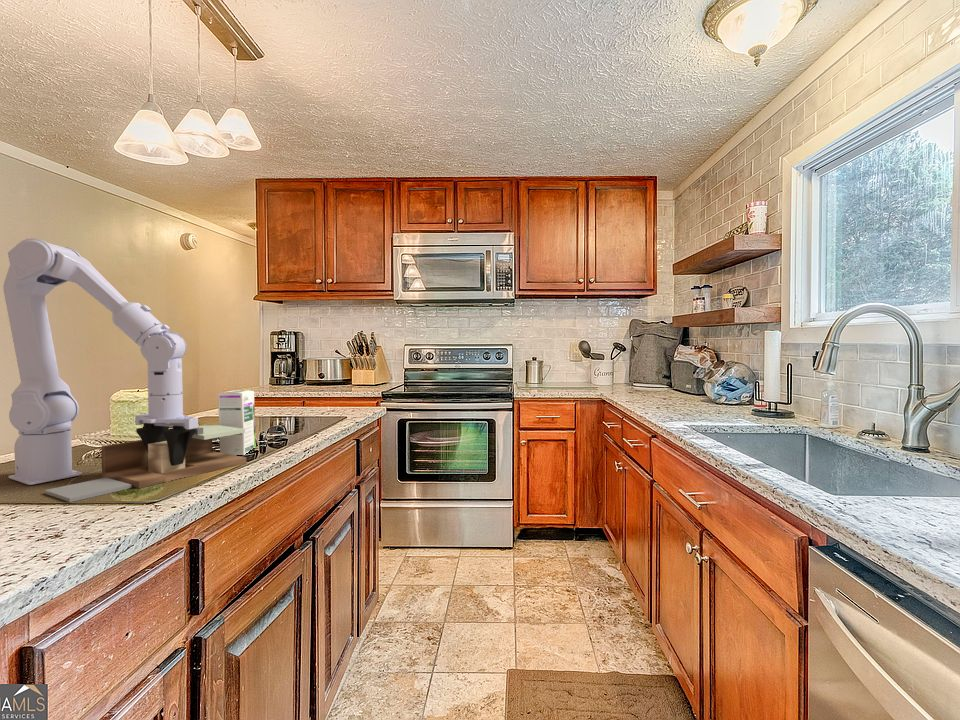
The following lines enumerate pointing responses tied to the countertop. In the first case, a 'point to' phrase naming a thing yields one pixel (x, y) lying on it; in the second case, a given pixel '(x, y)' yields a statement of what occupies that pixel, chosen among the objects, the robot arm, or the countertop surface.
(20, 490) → the countertop surface
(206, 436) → the cover
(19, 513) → the countertop surface
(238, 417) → the syrup box
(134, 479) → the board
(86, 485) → the mat
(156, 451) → the block
